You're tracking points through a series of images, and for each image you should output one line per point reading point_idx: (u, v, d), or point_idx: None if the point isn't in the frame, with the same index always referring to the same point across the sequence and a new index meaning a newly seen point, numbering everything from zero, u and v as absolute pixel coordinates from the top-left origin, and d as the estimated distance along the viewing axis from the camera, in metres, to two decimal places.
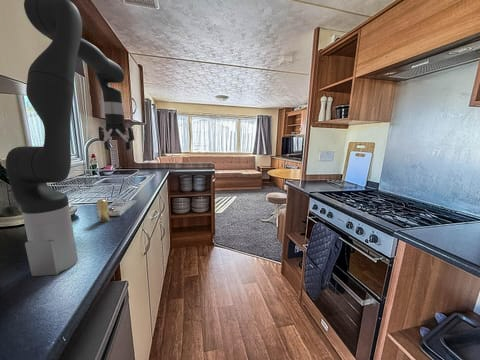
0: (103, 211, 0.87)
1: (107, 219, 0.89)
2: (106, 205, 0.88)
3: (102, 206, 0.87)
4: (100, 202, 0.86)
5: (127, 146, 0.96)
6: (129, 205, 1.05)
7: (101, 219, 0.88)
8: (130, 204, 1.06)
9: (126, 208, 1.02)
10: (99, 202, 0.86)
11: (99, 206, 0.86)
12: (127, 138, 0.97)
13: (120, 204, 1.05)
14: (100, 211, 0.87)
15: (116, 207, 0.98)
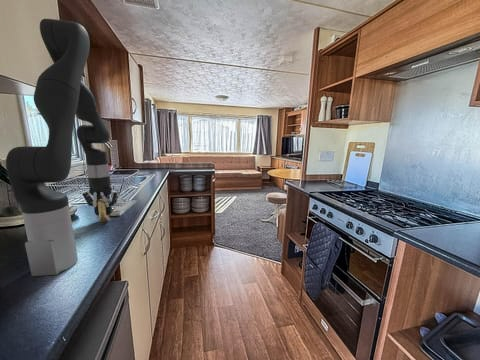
0: (103, 211, 0.87)
1: (107, 219, 0.89)
2: None
3: (102, 206, 0.87)
4: (100, 202, 0.86)
5: (108, 211, 0.88)
6: (129, 205, 1.05)
7: (101, 219, 0.88)
8: (130, 204, 1.06)
9: (126, 208, 1.02)
10: (99, 202, 0.86)
11: (99, 206, 0.86)
12: (109, 201, 0.89)
13: (120, 204, 1.05)
14: (100, 211, 0.87)
15: (116, 207, 0.98)
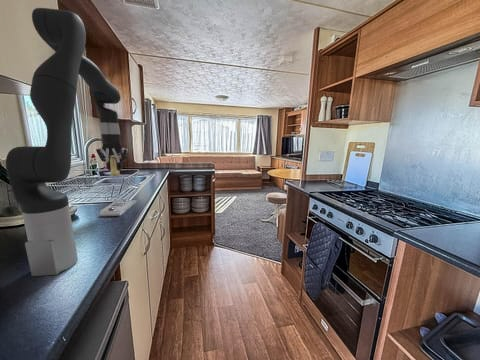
0: (114, 166, 0.97)
1: (118, 174, 0.99)
2: None
3: (114, 161, 0.97)
4: (112, 157, 0.96)
5: (119, 166, 0.98)
6: (129, 205, 1.05)
7: (112, 173, 0.98)
8: (130, 204, 1.06)
9: (126, 208, 1.02)
10: (111, 157, 0.96)
11: (111, 161, 0.97)
12: (120, 158, 0.99)
13: (120, 204, 1.05)
14: (112, 166, 0.97)
15: (116, 207, 0.98)
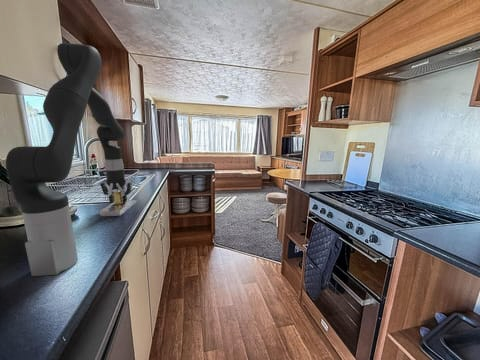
0: (118, 201, 1.01)
1: None
2: (121, 196, 1.02)
3: (117, 196, 1.00)
4: (116, 193, 1.00)
5: (124, 199, 1.02)
6: (129, 205, 1.05)
7: None
8: (130, 204, 1.06)
9: (126, 208, 1.02)
10: (115, 193, 1.00)
11: (115, 196, 1.00)
12: (124, 191, 1.02)
13: None
14: (115, 201, 1.01)
15: (116, 207, 0.98)
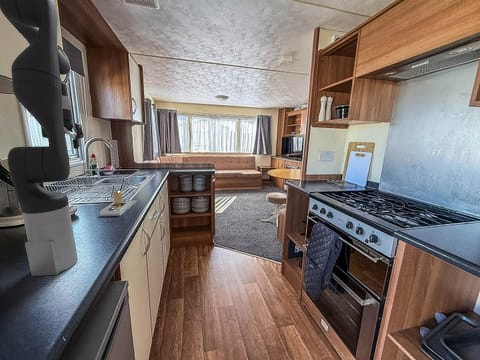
0: (118, 201, 1.01)
1: None
2: (120, 196, 1.02)
3: (117, 196, 1.00)
4: (116, 193, 1.00)
5: (75, 144, 0.87)
6: (129, 205, 1.05)
7: None
8: (130, 204, 1.06)
9: (126, 208, 1.02)
10: (115, 193, 1.00)
11: (115, 196, 1.00)
12: (75, 135, 0.88)
13: None
14: (115, 201, 1.00)
15: (116, 207, 0.98)
